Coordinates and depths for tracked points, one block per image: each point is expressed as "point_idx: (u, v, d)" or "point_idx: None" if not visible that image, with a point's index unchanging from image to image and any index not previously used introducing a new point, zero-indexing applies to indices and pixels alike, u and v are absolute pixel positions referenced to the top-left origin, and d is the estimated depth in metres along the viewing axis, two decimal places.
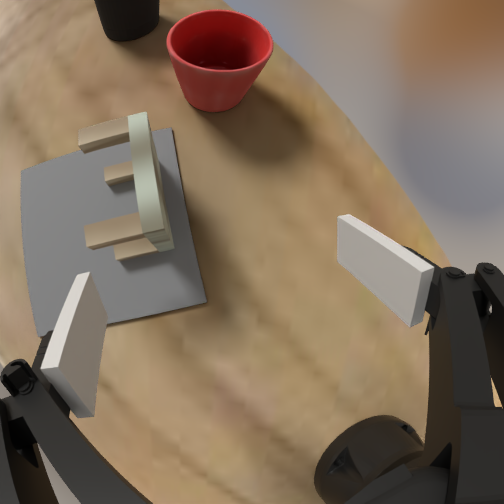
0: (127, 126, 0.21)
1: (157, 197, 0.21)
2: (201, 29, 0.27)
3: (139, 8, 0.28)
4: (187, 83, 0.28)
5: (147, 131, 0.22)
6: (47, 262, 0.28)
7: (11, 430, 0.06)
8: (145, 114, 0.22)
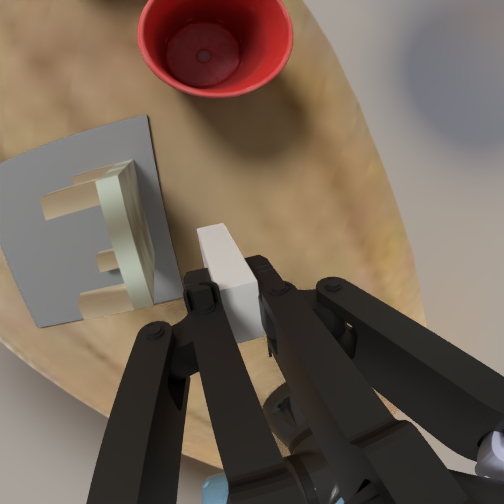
0: (97, 197, 0.18)
1: (144, 279, 0.21)
2: None
3: None
4: None
5: (122, 204, 0.19)
6: (31, 268, 0.27)
7: (181, 357, 0.09)
8: (116, 179, 0.18)
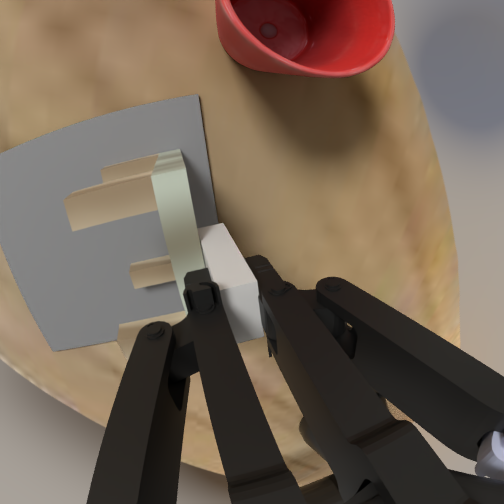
0: (153, 199, 0.13)
1: None
2: None
3: None
4: (240, 51, 0.15)
5: (191, 211, 0.14)
6: (45, 283, 0.23)
7: (181, 356, 0.09)
8: (184, 174, 0.13)
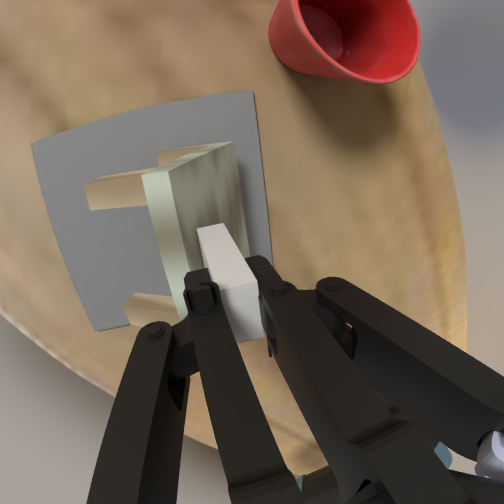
0: (144, 195, 0.15)
1: None
2: None
3: None
4: (299, 57, 0.18)
5: (173, 211, 0.15)
6: (95, 261, 0.26)
7: (182, 356, 0.09)
8: (167, 176, 0.14)
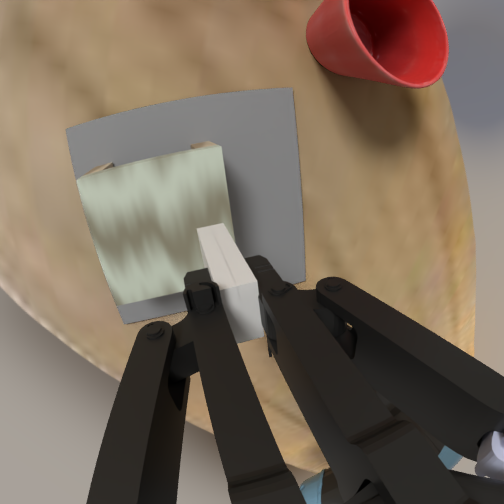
0: None
1: (106, 279, 0.21)
2: None
3: None
4: (342, 58, 0.19)
5: (83, 207, 0.18)
6: None
7: (182, 356, 0.09)
8: (77, 183, 0.17)
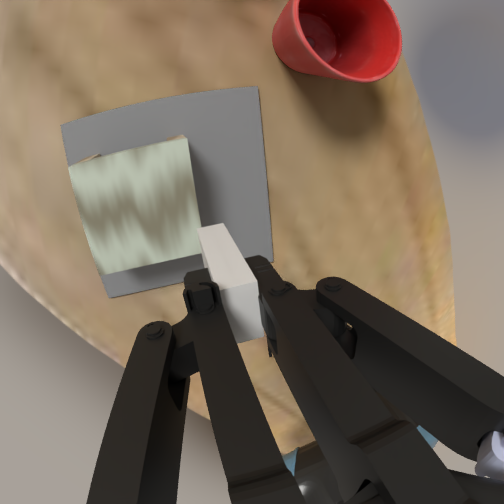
0: None
1: None
2: None
3: None
4: (298, 59, 0.22)
5: (73, 190, 0.21)
6: None
7: (182, 356, 0.09)
8: (69, 170, 0.21)
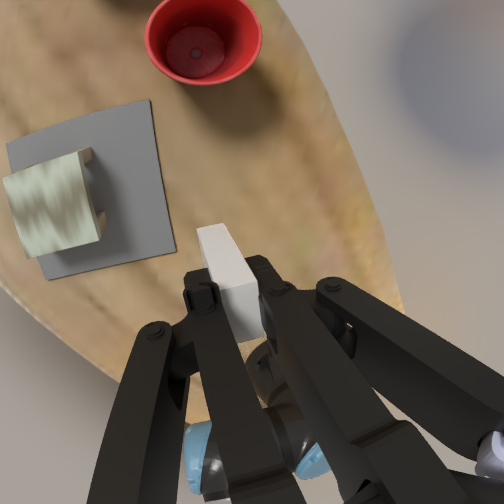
0: None
1: None
2: (186, 3, 0.22)
3: None
4: None
5: None
6: None
7: (181, 356, 0.09)
8: (3, 180, 0.24)
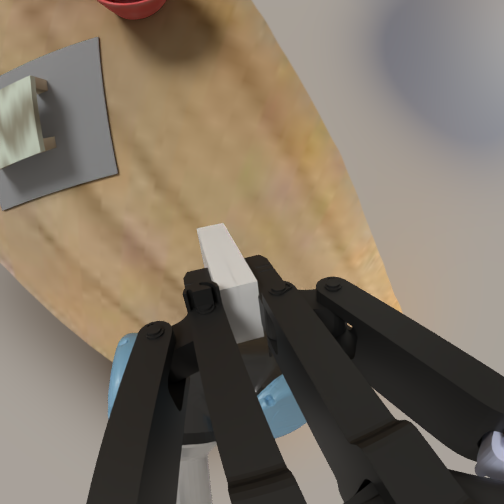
0: None
1: None
2: None
3: None
4: (106, 7, 0.23)
5: None
6: None
7: (181, 356, 0.09)
8: None
